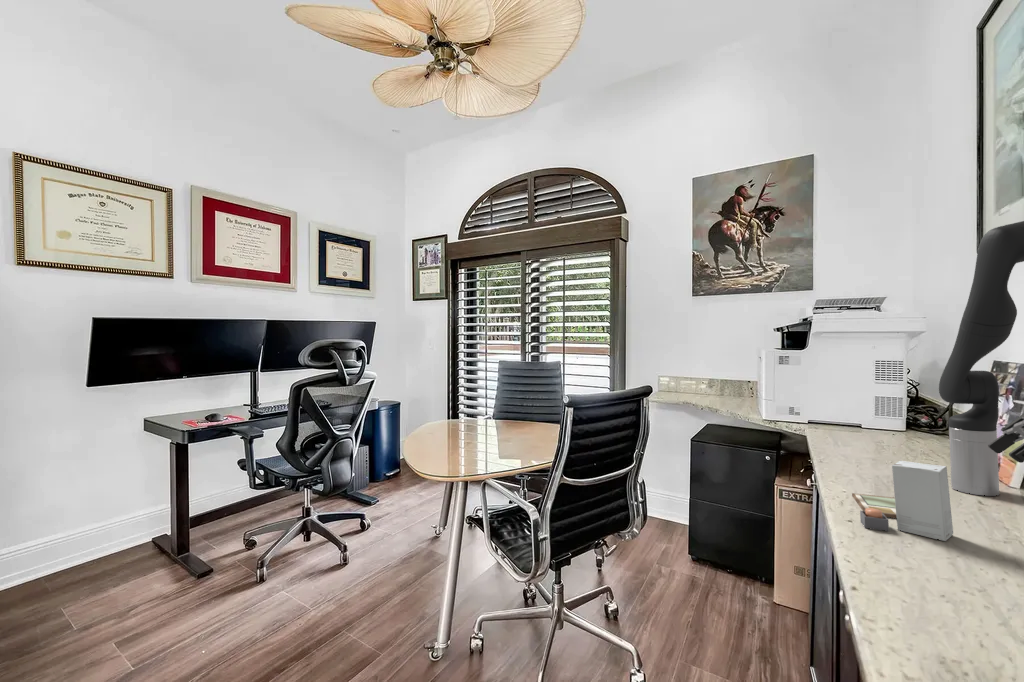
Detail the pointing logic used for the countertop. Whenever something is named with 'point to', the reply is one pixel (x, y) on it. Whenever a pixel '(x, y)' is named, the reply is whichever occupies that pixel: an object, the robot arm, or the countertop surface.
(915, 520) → the skincare box
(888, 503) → the picture board
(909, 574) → the countertop surface
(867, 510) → the button
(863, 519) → the button housing
